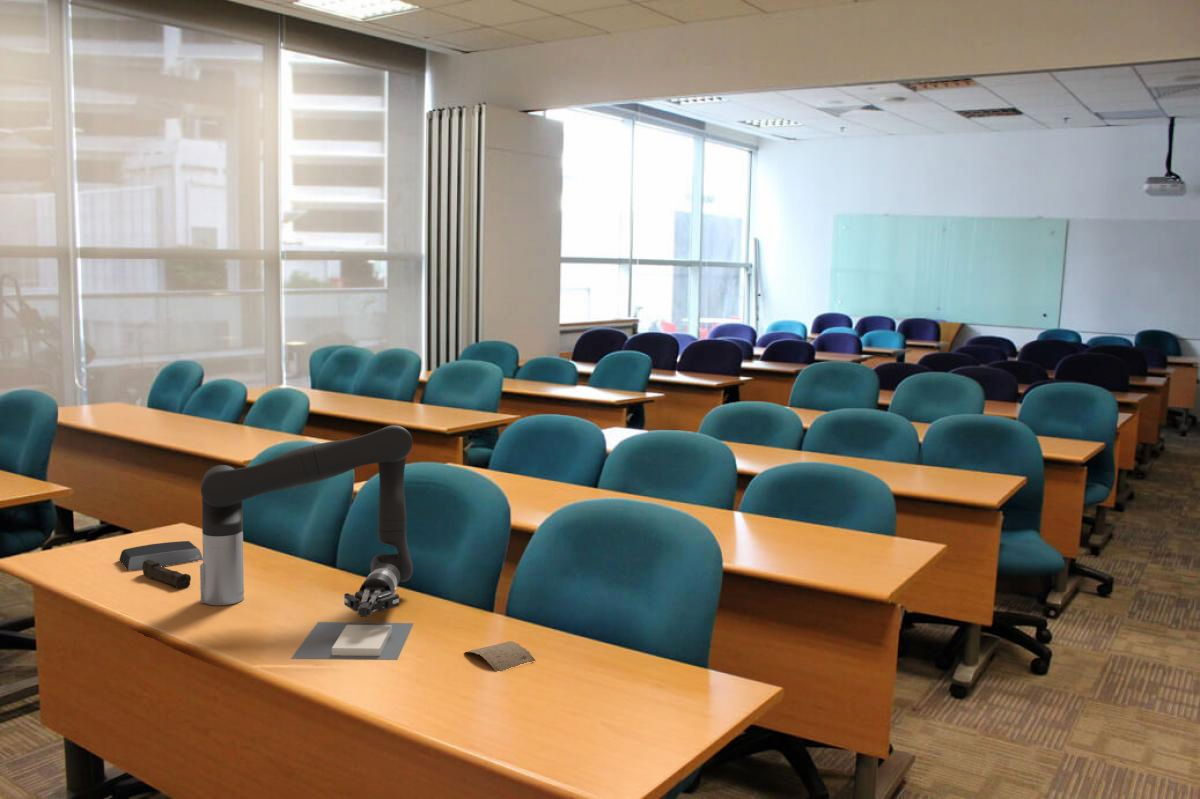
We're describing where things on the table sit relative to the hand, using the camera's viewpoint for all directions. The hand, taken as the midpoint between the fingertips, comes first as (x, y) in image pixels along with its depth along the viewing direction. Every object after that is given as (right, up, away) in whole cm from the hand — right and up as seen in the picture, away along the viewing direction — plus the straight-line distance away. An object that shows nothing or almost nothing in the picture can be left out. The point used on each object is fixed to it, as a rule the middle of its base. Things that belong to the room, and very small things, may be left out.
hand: (363, 612), depth 209 cm
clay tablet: (+30, -9, -5) cm, 32 cm away
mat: (-2, -7, +2) cm, 7 cm away
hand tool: (-62, -1, +40) cm, 74 cm away
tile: (0, -5, +6) cm, 8 cm away
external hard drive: (-71, +1, +59) cm, 92 cm away
